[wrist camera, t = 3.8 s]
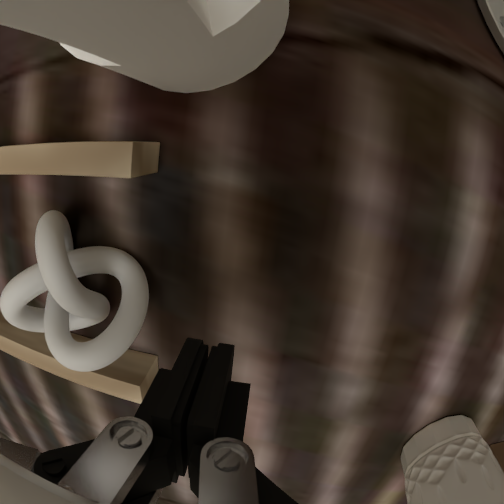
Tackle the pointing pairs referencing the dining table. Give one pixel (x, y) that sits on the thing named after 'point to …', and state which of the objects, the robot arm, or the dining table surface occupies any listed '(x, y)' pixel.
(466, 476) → the white cup
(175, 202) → the dining table surface
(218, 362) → the robot arm
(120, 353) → the knot
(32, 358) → the guide channel
